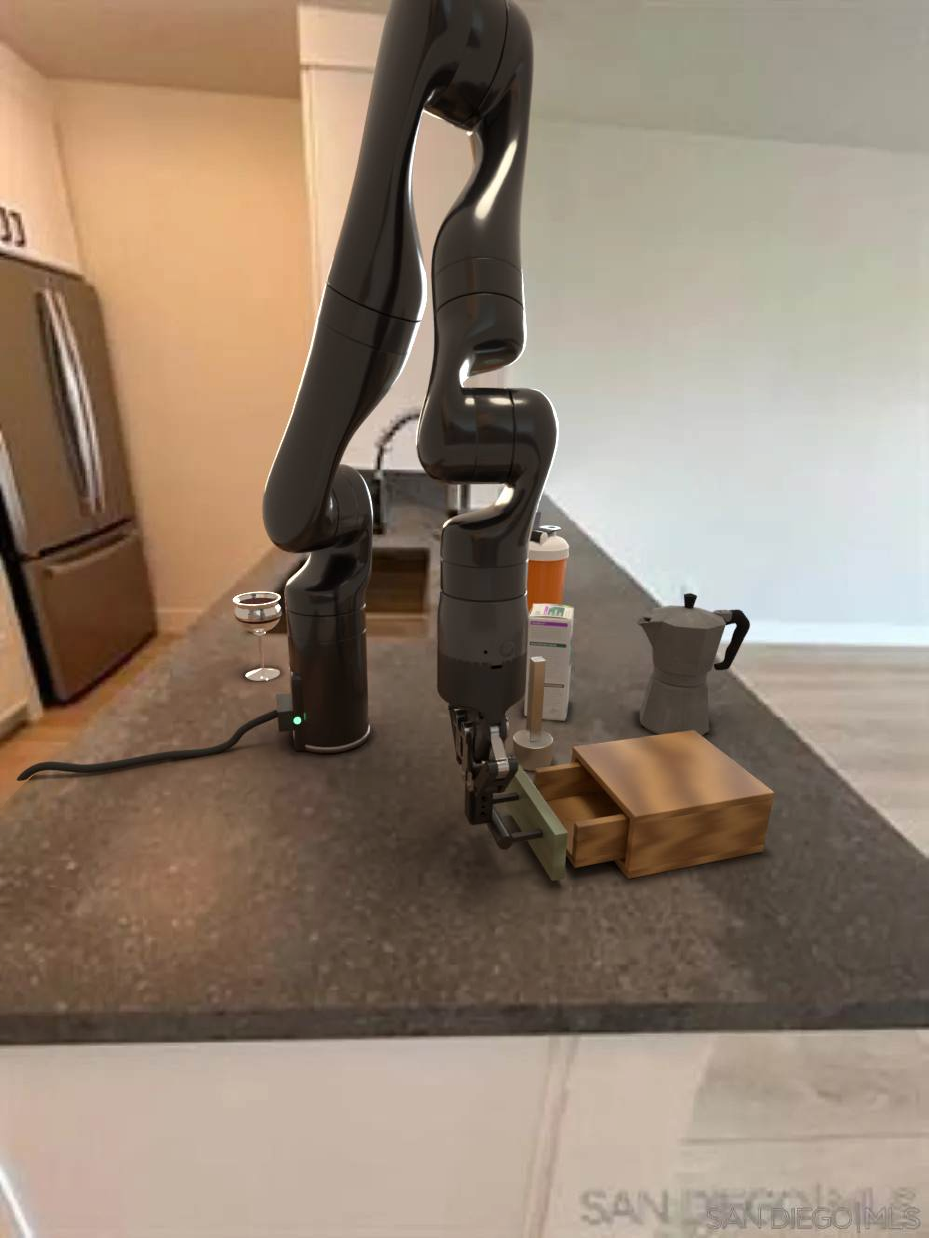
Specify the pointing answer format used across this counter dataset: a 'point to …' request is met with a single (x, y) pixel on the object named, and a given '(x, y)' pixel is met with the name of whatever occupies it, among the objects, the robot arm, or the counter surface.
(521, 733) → the post on round base
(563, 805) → the drawer
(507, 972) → the counter surface
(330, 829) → the counter surface
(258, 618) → the wineglass
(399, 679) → the counter surface
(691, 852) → the cabinet
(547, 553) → the shaker bottle
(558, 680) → the syrup box
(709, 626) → the coffeepot
